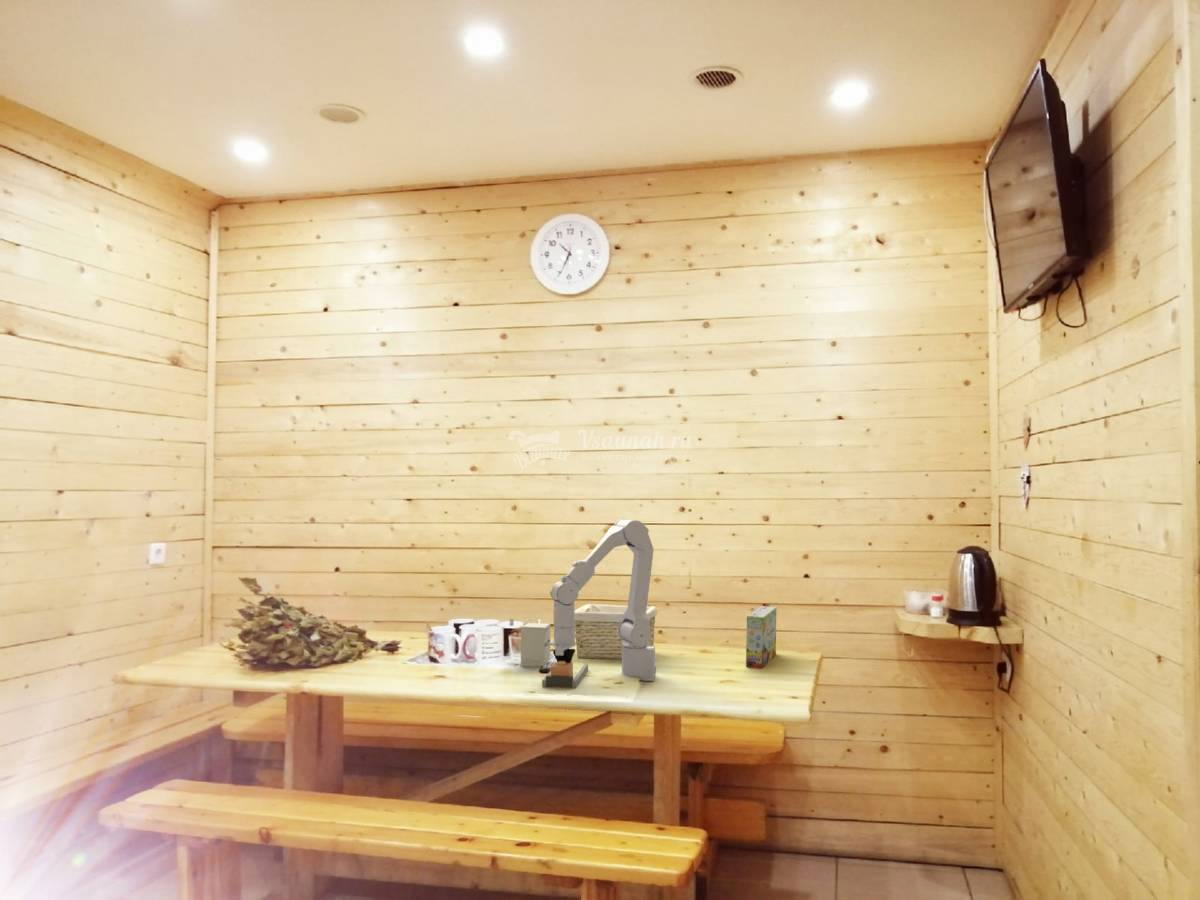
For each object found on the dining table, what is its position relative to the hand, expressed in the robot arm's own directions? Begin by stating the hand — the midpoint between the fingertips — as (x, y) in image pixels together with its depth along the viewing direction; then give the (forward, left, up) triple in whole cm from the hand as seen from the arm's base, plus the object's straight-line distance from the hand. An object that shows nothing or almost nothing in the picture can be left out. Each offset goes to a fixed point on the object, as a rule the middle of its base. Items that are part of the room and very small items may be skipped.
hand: (564, 676), depth 231 cm
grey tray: (0, -2, -2) cm, 3 cm away
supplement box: (+12, -18, -2) cm, 22 cm away
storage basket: (-9, -38, -2) cm, 40 cm away
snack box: (-54, -36, -2) cm, 65 cm away
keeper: (0, +4, -1) cm, 4 cm away
